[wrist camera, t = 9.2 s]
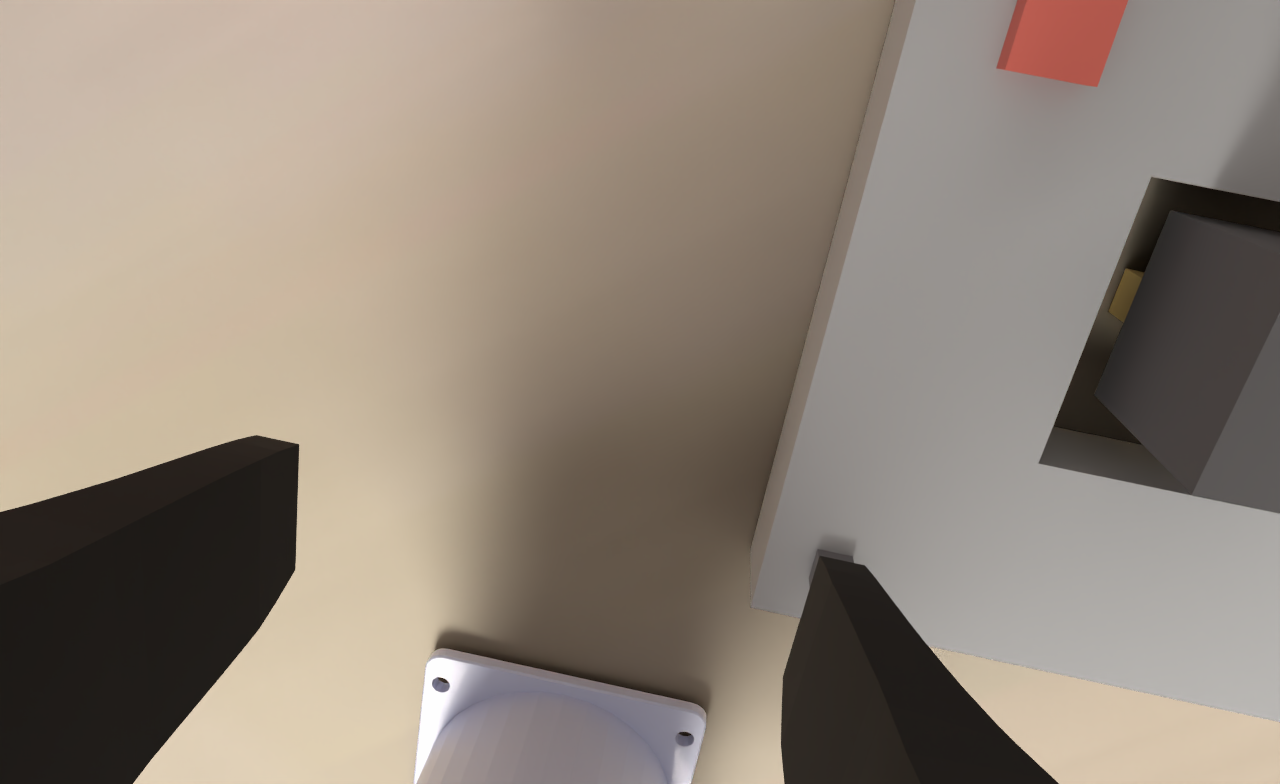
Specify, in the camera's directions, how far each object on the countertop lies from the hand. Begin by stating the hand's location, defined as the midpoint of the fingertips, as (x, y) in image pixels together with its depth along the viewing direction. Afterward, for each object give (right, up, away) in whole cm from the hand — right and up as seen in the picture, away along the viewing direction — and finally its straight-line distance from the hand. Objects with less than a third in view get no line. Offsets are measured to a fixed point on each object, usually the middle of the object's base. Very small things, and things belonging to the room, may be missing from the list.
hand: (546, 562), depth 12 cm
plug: (+13, +4, +7) cm, 16 cm away
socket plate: (+13, +4, +8) cm, 16 cm away
